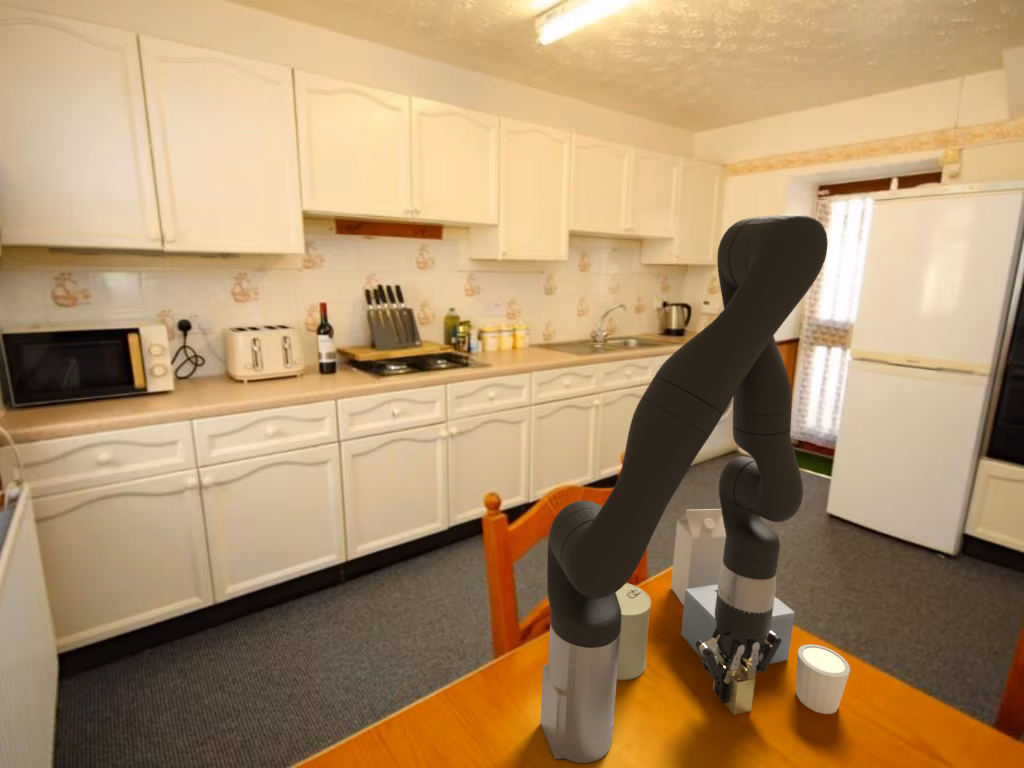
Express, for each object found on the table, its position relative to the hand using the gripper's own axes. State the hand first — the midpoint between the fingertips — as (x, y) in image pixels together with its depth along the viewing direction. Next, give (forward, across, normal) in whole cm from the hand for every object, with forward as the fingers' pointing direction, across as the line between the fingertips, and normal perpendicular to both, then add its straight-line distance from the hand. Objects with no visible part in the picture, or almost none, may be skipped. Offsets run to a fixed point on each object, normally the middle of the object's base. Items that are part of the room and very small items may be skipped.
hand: (731, 696), depth 80 cm
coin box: (+1, +8, +10) cm, 13 cm away
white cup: (+1, +13, -3) cm, 13 cm away
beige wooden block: (+1, 0, 0) cm, 1 cm away
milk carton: (+1, +10, +24) cm, 26 cm away
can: (+1, -13, +12) cm, 18 cm away
